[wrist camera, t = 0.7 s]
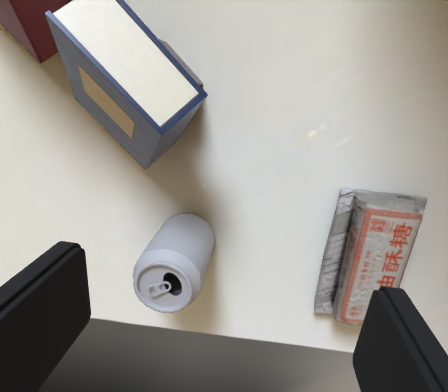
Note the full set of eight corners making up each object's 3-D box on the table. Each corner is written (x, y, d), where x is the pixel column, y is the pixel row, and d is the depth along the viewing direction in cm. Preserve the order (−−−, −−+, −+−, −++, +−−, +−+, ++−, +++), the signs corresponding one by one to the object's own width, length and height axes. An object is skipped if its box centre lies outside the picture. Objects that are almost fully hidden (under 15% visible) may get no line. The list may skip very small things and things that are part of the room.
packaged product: (348, 199, 33) (446, 210, 32) (337, 185, 37) (423, 194, 36) (317, 330, 39) (398, 342, 38) (311, 305, 43) (384, 315, 43)
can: (222, 253, 42) (207, 313, 31) (173, 263, 44) (142, 324, 33) (206, 205, 40) (183, 251, 29) (155, 217, 42) (114, 265, 31)
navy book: (102, -24, 22) (43, 13, 20) (208, 94, 24) (161, 136, 22) (109, 73, 36) (74, 99, 34) (175, 142, 38) (145, 170, 36)
